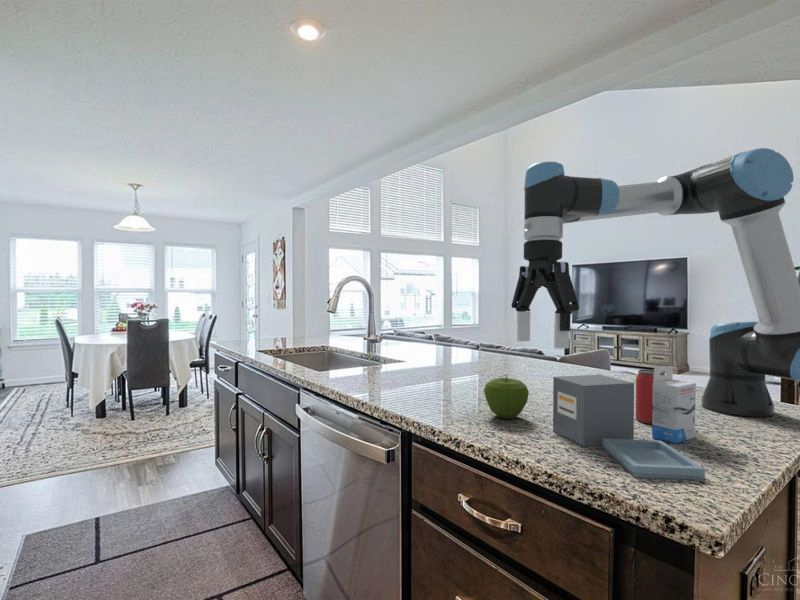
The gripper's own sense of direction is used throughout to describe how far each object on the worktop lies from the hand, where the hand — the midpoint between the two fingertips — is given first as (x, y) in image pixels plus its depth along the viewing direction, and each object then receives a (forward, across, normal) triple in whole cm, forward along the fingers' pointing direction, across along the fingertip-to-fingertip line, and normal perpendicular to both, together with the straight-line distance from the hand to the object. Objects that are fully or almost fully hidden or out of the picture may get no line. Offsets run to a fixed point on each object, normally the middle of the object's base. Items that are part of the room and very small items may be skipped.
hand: (541, 344), depth 89 cm
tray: (+20, +15, +12) cm, 28 cm away
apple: (+20, -18, +2) cm, 27 cm away
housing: (+20, 0, +13) cm, 23 cm away
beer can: (+20, -6, +34) cm, 40 cm away
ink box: (+20, +5, +29) cm, 35 cm away
